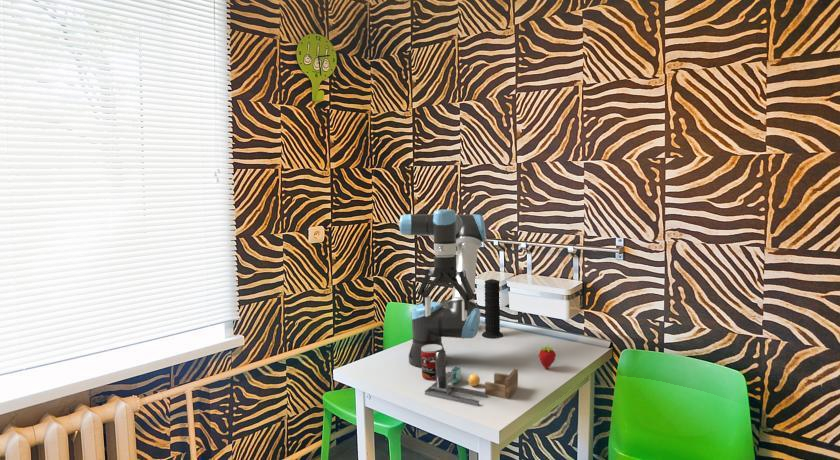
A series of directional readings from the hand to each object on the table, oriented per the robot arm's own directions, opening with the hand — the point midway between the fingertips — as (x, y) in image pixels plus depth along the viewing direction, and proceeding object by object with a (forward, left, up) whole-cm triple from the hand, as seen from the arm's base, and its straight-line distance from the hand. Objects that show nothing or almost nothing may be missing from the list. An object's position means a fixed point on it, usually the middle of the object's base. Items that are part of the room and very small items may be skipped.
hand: (446, 317), depth 166 cm
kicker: (-1, +2, -25) cm, 25 cm away
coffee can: (-27, +61, -26) cm, 72 cm away
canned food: (-10, +8, -26) cm, 29 cm away
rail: (+5, -3, -26) cm, 26 cm away
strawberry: (+26, +33, -26) cm, 50 cm away
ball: (+7, +7, -26) cm, 27 cm away
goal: (+17, +7, -26) cm, 31 cm away
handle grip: (-7, +63, -26) cm, 69 cm away
